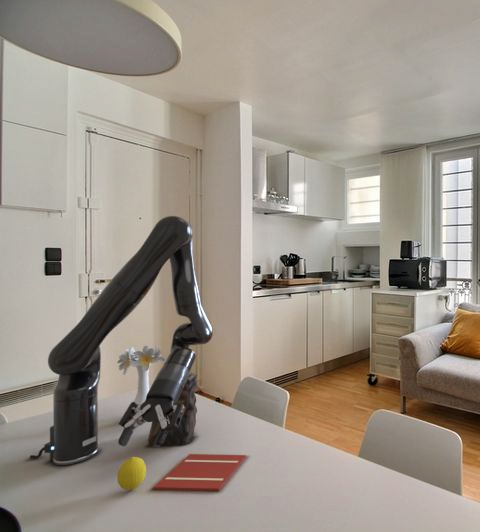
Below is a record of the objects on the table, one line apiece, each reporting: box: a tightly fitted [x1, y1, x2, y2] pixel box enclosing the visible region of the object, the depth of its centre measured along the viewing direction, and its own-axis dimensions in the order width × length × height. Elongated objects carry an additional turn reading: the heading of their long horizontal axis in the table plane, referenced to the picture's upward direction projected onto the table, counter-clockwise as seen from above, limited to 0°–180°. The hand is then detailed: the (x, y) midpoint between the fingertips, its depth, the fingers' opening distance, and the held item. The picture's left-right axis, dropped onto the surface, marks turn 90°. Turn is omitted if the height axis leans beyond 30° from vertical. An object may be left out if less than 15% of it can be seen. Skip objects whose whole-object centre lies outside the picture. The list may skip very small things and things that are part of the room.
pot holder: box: [152, 453, 247, 492], centre depth 96 cm, size 16×15×1 cm
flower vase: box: [116, 345, 166, 419], centre depth 127 cm, size 13×18×25 cm
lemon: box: [116, 456, 147, 491], centre depth 88 cm, size 6×6×8 cm
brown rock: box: [146, 371, 198, 448], centre depth 113 cm, size 13×13×20 cm
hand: (138, 445), depth 90 cm, fingers open, 8 cm apart
